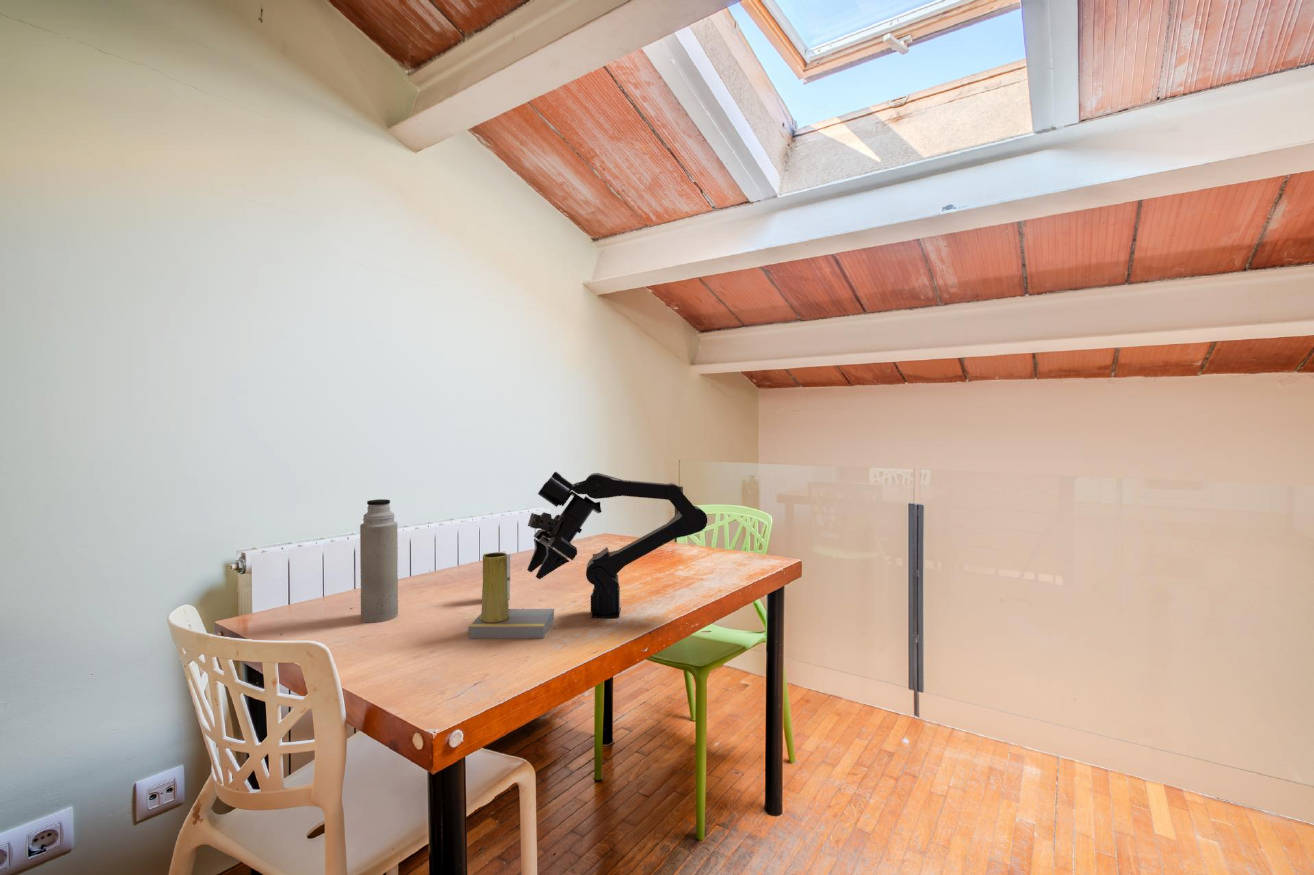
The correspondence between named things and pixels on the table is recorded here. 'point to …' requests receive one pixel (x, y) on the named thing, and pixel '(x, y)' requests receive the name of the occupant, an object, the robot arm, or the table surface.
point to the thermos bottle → (379, 563)
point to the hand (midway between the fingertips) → (533, 574)
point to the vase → (495, 588)
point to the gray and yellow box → (515, 625)
